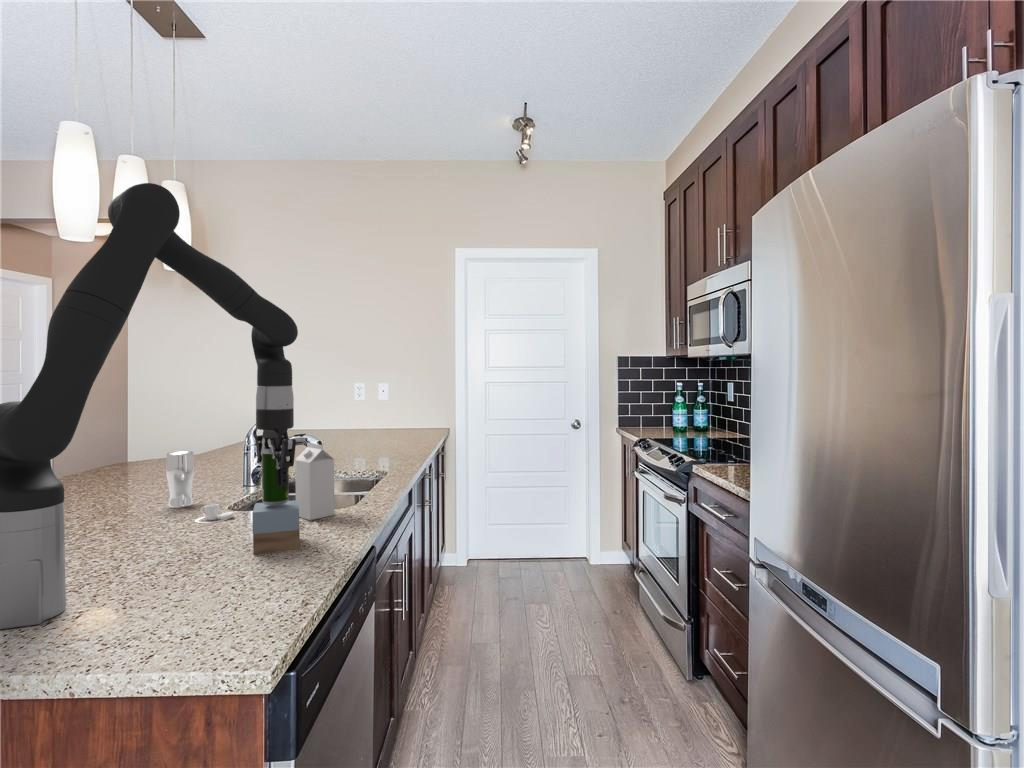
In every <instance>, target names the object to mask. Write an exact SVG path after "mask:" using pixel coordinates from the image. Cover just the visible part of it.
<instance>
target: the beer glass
mask: <svg viewBox="0 0 1024 768" xmlns="http://www.w3.org/2000/svg"><path fill="white" fill-rule="evenodd" d="M194 455H195V454H194V451H191V450H190V451H188V450H187V451H185V450H184V451H172V452H168V453H166V459H165V460H166V461H165V475H166V480H167V485H168V490H169V499H168V504H167V507H168V508H171V509H179V508H186V507H187V508H188V507H191V506H193V505H194V503H193V496H192V487H193V482H194V476H195V456H194Z"/></svg>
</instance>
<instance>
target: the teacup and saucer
mask: <svg viewBox="0 0 1024 768" xmlns="http://www.w3.org/2000/svg"><path fill="white" fill-rule="evenodd" d="M219 506H220V504H218V503H209V504H206V505H204V506H202V507H201V508H200V513H201V514H202V516H201V517H198V518H195V519H194V522H195V523H197V524H213V523H219V522H224V521H227V520H229V519H231V518H233V517H234V516H235V512H234V511H227V512H224V513H221V514H219V511H220V510H219V509H220V508H219ZM203 509H204V512H205V514H204V512H203ZM203 519H206V520H207V521H208V522H207V521H200V520H203Z"/></svg>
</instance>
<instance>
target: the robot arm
mask: <svg viewBox="0 0 1024 768" xmlns="http://www.w3.org/2000/svg"><path fill="white" fill-rule="evenodd" d="M180 212H181V211H180V207H179V203H178V201H177V199H176V198H175V196H174V194H173V193H172V192H171V191H170V190H169V189H167V188H166V187H164V186H162V185H160V184H156V183H152V182H144V183H138V184H135V185H132V186H130V187H127V189H125V190H124V191H122V192H121V193H120V194H118V195H116V197H114V199H112V200H111V201H110V203H109V205H108V209H107V217H108V220H109V223H110V225H111V227H112V229H111V231H110V233H109V234H108V237H107V238H106V240H105V241H104V243H103V244H102V245H101V246H100V248H99V249H98V250H97V251H96V252H95V253H94V255H92V257H91V258H90V259H89V260H88V261H87V262H86V263H85V264H84V266H82V268H80V270H79V272H78V273H77V274H76V275H75V277H73V280H72V281H71V282H70V284H68V286H67V288H66V289H65V291H64V293H63V294H62V296H61V298H60V299H59V301H58V304H57V305H56V307H55V309H54V311H53V312H52V315H51V317H50V319H49V320H50V321H49V323H48V326H47V336H46V348H45V357H44V360H43V364H42V367H41V369H40V371H39V373H38V375H37V377H36V379H35V381H34V382H33V383H32V385H31V386H30V389H29V390H28V392H27V393H26V395H24V398H23V399H22V400H16V401H14V400H13V401H7V402H2V403H0V630H4V629H11V628H20V627H26V626H33V625H41V624H42V623H43V622H44V621H47V620H48V619H51V618H54V617H56V616H58V615H60V614H62V613H63V612H64V611H65V610H66V609H67V608H66V607H67V600H66V598H67V596H66V595H67V593H66V589H67V588H66V585H67V584H66V542H65V540H66V538H65V537H66V535H65V533H66V532H65V520H66V519H65V487H64V484H63V483H62V482H61V481H60V480H59V479H58V478H57V476H56V474H55V473H54V471H53V469H52V461H51V460H53V459H54V458H56V457H58V456H59V455H61V454H62V453H63V452H64V451H66V449H67V448H68V446H69V445H70V443H71V442H72V439H73V438H74V435H75V433H76V431H77V428H78V426H79V423H80V419H81V417H82V414H83V411H84V409H85V406H86V403H87V401H88V398H89V395H90V392H91V391H92V387H93V386H94V383H95V381H96V379H97V377H98V375H99V374H100V372H101V369H102V368H103V366H104V365H105V362H106V360H107V357H108V356H109V354H110V351H111V350H112V348H113V346H114V344H115V342H116V340H117V339H118V337H119V335H120V333H121V332H122V329H123V327H124V326H125V324H126V321H127V320H128V317H129V315H130V313H131V311H132V309H133V306H134V304H135V302H136V300H137V297H138V295H139V294H140V291H141V289H142V287H143V285H144V282H145V280H146V277H147V275H148V272H149V271H150V268H151V266H152V264H153V262H154V261H155V259H157V260H158V261H160V262H162V263H163V264H164V265H166V266H167V267H168V268H170V269H172V270H173V271H175V272H176V273H178V274H179V275H180V276H182V277H183V278H185V279H186V280H188V282H190V283H191V284H193V285H194V286H196V288H198V289H199V291H202V292H203V293H204V294H205V295H206V296H207V297H208V298H209V299H211V300H212V301H214V303H216V304H217V305H218V306H219V307H220V308H222V309H223V310H224V311H225V312H227V314H228V315H230V317H232V318H234V319H235V320H238V321H240V322H245V323H247V324H249V325H250V326H251V327H252V329H251V334H250V335H251V336H250V337H251V344H252V349H253V355H254V357H255V358H254V359H255V362H256V367H257V371H256V380H257V382H256V395H255V427H256V429H257V430H260V431H262V434H261V435H256V436H255V444H256V445H255V447H256V456H257V462H258V463H261V466H262V452H263V448H265V449H266V448H270V449H271V453H272V459H273V460H275V464H276V469H277V470H276V486H277V487H284V486H287V485H288V468H289V469H290V468H291V467H294V465H295V464H294V463H295V455H296V445H297V444H296V443H297V442H296V439H295V438H291V439H290V438H289V434H288V430H290V429H292V428H294V422H295V421H294V419H295V418H294V408H295V407H294V406H295V405H294V403H295V402H294V401H295V400H294V391H293V365H292V363H291V361H290V360H288V359H286V356H285V350H284V348H285V347H288V346H290V345H292V344H293V343H294V342H295V341H296V340H297V338H298V335H299V330H298V326H297V324H296V321H294V319H293V318H292V317H291V316H290V315H289V314H288V313H287V312H286V311H285V310H283V309H281V307H279V306H277V305H276V304H274V303H273V302H272V301H270V300H269V299H266V298H264V297H263V296H261V295H260V294H259V293H258V291H256V290H255V289H253V287H252V286H251V285H250V284H249V283H247V281H245V280H244V279H243V278H242V277H241V276H239V275H238V274H237V273H236V272H235V271H234V270H232V269H230V268H229V267H228V266H226V265H224V264H223V263H221V262H219V261H217V260H215V259H213V258H211V256H208V255H206V254H204V253H202V252H201V251H199V250H197V249H196V248H195V247H193V246H191V245H190V244H189V243H188V242H186V240H184V239H183V238H181V236H179V235H178V233H177V232H175V230H176V228H177V227H178V224H179V222H180ZM280 451H281V454H277V453H276V452H280ZM288 457H289V459H288ZM279 458H281V460H279Z"/></svg>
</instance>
